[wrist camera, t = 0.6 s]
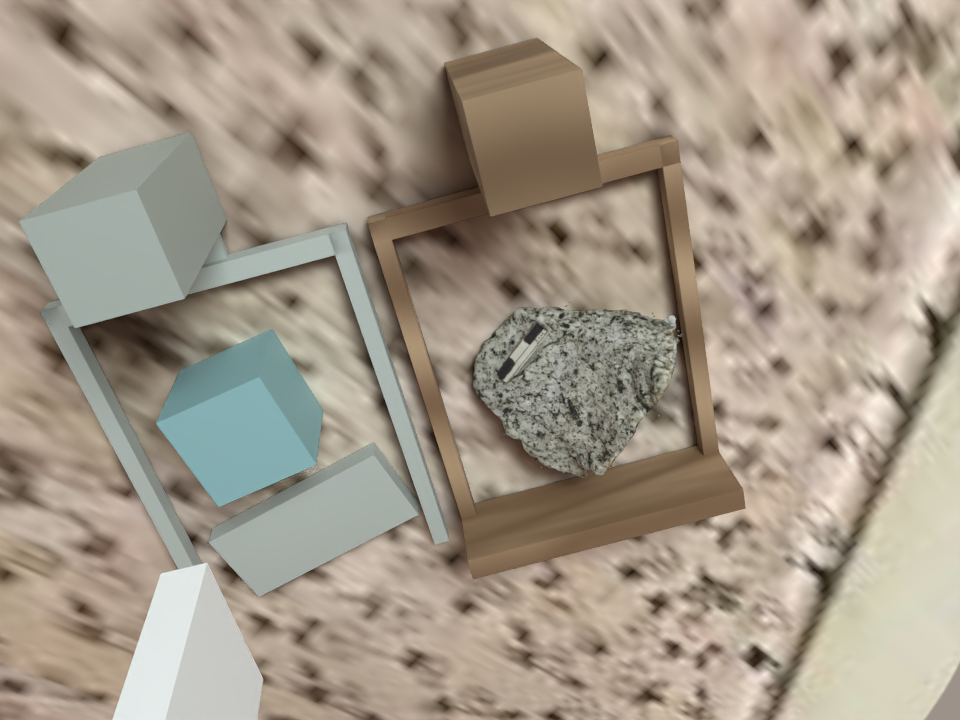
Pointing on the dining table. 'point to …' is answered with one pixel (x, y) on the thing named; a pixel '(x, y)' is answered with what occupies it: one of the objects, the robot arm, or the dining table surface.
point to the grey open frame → (177, 289)
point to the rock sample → (575, 381)
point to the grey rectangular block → (315, 520)
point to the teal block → (243, 419)
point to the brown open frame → (526, 182)
